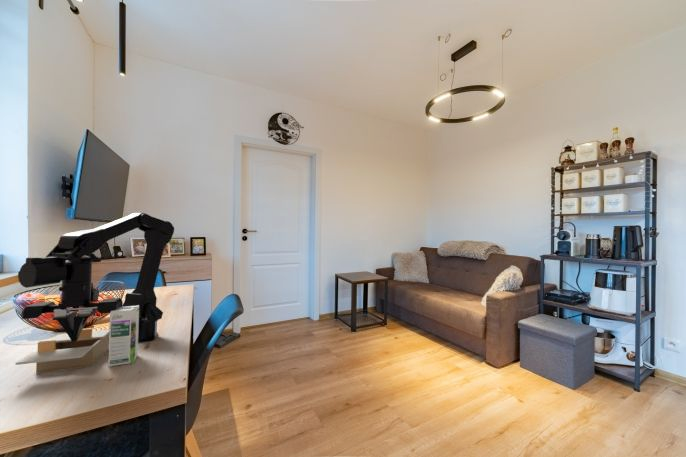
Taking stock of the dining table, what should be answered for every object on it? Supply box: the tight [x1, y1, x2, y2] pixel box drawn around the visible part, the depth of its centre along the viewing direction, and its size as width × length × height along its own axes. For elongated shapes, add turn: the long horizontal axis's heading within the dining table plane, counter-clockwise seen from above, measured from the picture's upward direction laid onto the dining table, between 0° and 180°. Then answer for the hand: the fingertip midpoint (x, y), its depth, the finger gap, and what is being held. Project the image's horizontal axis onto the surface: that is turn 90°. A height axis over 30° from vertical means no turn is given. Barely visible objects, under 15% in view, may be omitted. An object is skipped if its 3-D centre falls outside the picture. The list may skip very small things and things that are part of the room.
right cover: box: [51, 327, 110, 343], centre depth 81 cm, size 12×6×3 cm, turn 113°
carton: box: [35, 334, 109, 374], centre depth 78 cm, size 11×12×5 cm
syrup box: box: [107, 305, 139, 368], centre depth 78 cm, size 6×6×14 cm
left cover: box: [15, 339, 93, 366], centre depth 69 cm, size 12×6×3 cm, turn 113°
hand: (74, 340), depth 75 cm, fingers closed
